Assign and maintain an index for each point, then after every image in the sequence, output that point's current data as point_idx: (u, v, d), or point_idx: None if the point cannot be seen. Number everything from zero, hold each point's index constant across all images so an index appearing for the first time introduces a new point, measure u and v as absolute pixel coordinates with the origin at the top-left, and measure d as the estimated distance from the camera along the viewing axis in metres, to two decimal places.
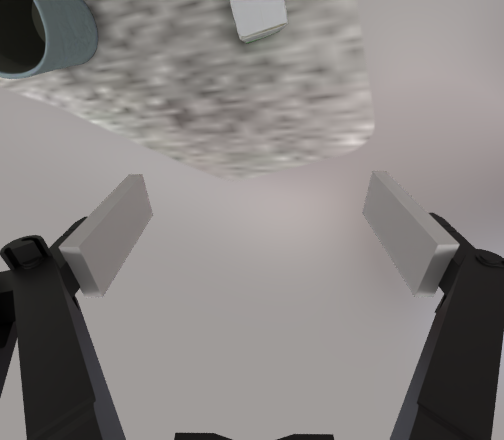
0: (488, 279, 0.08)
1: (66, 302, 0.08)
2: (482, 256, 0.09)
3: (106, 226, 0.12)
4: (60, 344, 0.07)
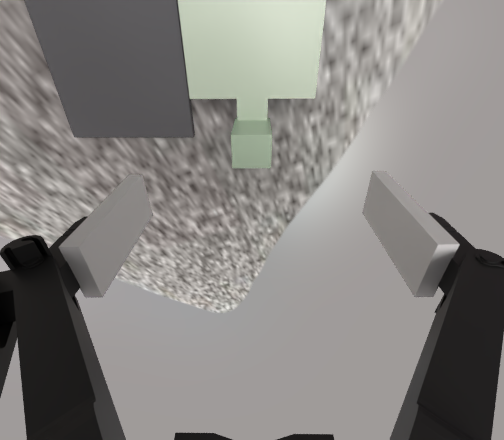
0: (488, 279, 0.08)
1: (66, 302, 0.08)
2: (482, 256, 0.09)
3: (106, 226, 0.12)
4: (60, 344, 0.07)
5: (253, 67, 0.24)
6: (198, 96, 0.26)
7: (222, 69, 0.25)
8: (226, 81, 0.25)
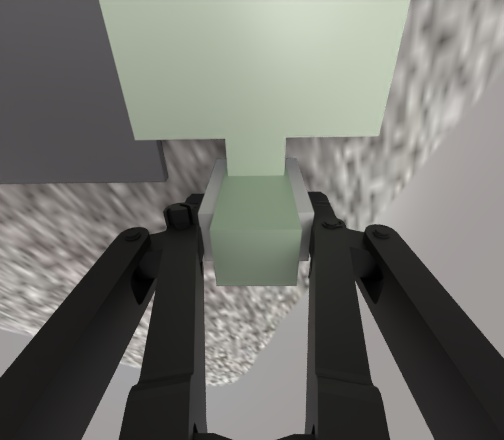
0: (334, 240, 0.10)
1: (195, 270, 0.09)
2: (326, 222, 0.11)
3: None
4: (181, 306, 0.08)
5: (257, 78, 0.12)
6: (151, 135, 0.13)
7: (194, 84, 0.12)
8: (203, 107, 0.13)
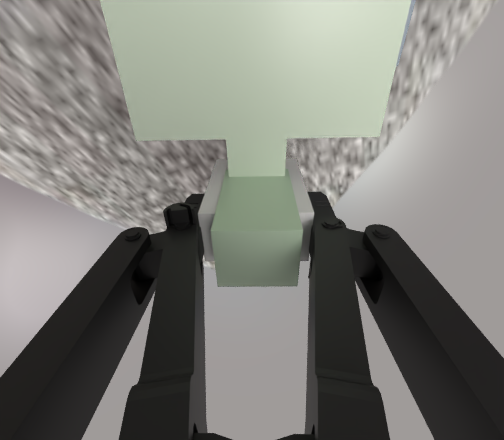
0: (334, 240, 0.10)
1: (195, 270, 0.09)
2: (326, 222, 0.11)
3: None
4: (181, 305, 0.08)
5: (258, 79, 0.12)
6: (152, 136, 0.13)
7: (195, 85, 0.12)
8: (204, 108, 0.13)
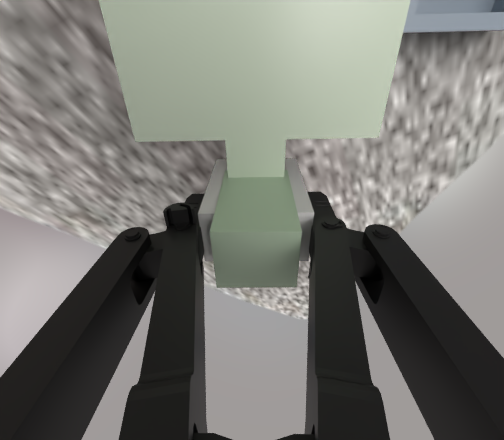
0: (334, 240, 0.10)
1: (195, 270, 0.09)
2: (326, 222, 0.11)
3: None
4: (181, 306, 0.08)
5: (257, 80, 0.12)
6: (151, 137, 0.13)
7: (194, 86, 0.12)
8: (203, 109, 0.13)
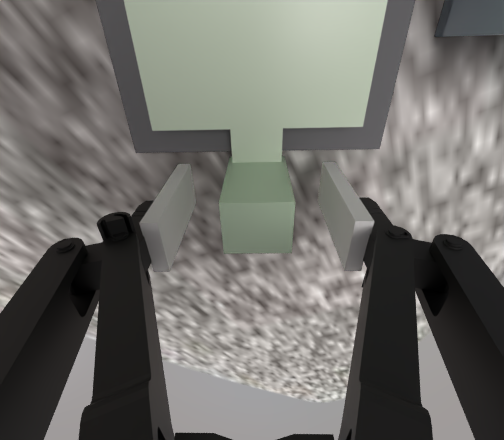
0: (397, 250, 0.09)
1: (140, 278, 0.09)
2: (390, 231, 0.10)
3: (171, 208, 0.13)
4: (130, 316, 0.07)
5: (258, 77, 0.14)
6: (166, 126, 0.15)
7: (204, 82, 0.14)
8: (212, 102, 0.15)
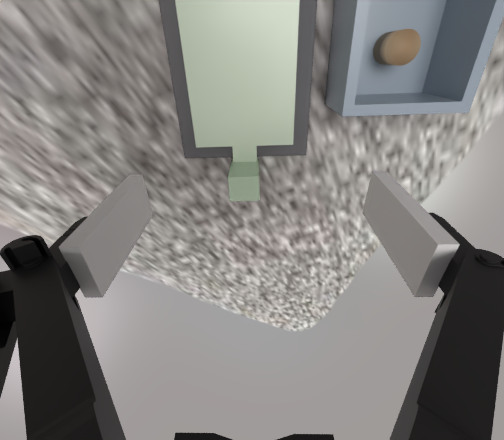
0: (488, 279, 0.08)
1: (66, 302, 0.08)
2: (482, 256, 0.09)
3: (106, 226, 0.12)
4: (60, 344, 0.07)
5: (244, 124, 0.32)
6: (202, 145, 0.33)
7: (220, 126, 0.32)
8: (224, 134, 0.33)
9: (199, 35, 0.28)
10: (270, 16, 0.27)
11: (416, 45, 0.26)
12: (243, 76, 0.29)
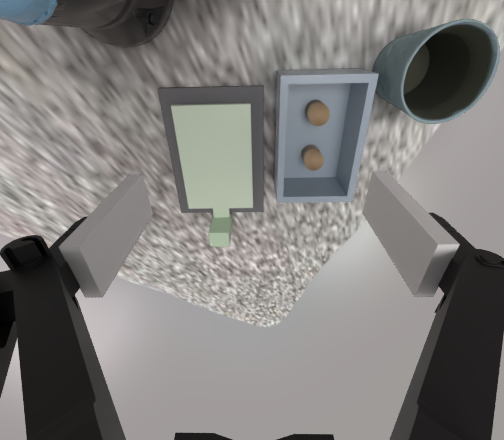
0: (488, 279, 0.08)
1: (66, 302, 0.08)
2: (482, 256, 0.09)
3: (106, 226, 0.12)
4: (60, 344, 0.07)
5: (220, 195, 0.49)
6: (193, 207, 0.50)
7: (204, 196, 0.49)
8: (207, 201, 0.50)
9: (190, 148, 0.44)
10: (233, 139, 0.43)
11: (321, 160, 0.43)
12: (218, 170, 0.46)
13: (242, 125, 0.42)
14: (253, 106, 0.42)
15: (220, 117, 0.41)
